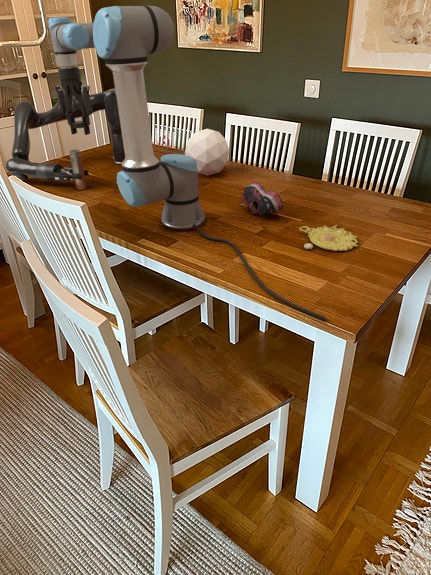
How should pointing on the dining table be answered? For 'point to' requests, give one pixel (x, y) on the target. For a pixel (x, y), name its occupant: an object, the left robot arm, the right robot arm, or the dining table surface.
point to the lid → (77, 124)
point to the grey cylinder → (78, 169)
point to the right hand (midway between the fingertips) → (81, 133)
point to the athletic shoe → (261, 200)
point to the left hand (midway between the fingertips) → (84, 175)
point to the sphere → (208, 151)
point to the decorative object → (330, 238)
